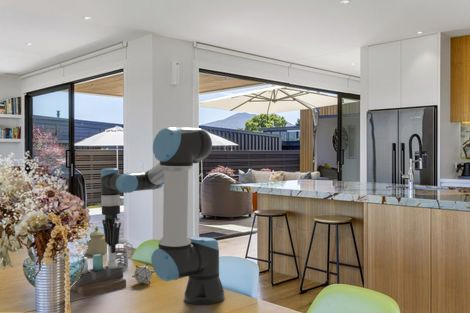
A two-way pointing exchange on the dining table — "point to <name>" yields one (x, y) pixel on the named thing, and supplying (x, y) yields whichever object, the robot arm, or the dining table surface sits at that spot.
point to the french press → (123, 254)
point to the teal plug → (97, 262)
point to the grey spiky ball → (143, 274)
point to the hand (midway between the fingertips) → (112, 260)
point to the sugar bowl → (96, 243)
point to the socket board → (100, 281)
